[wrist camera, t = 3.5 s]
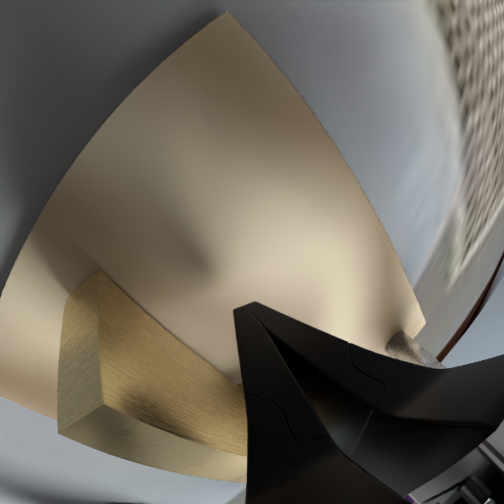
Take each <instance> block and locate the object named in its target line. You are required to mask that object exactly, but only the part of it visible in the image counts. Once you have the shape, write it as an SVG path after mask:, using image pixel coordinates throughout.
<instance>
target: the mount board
mask: <svg viewBox="0 0 504 504" xmlns="http://www.w3.org/2000/svg"><path fill="white" fill-rule="evenodd" d="M98 269H99V270H101V271H102V272H103V273H104V274H105V275H106V276H107V277H108V278H109V279H110V280H111V281H112V282H113V283H114V284H115V285H116V286H117V287H118V288H119V289H120V290H121V291H122V292H123V293H124V294H126V295H127V296H128V297H129V298H130V299H131V300H132V301H133V302H134V303H135V304H136V305H138V306H139V307H140V308H141V309H142V310H143V311H144V312H145V313H147V314H148V315H149V316H150V317H151V318H152V319H153V320H155V321H156V322H157V323H158V324H159V325H161V326H162V327H163V328H164V329H165V330H166V331H168V332H169V333H170V334H171V335H173V336H174V337H175V338H176V339H177V340H179V341H180V342H181V343H182V344H184V345H185V346H186V347H187V348H189V349H190V350H191V351H193V352H194V353H195V354H196V355H198V356H199V357H200V358H202V359H203V360H204V361H206V362H207V363H208V364H210V365H211V366H212V367H214V368H215V369H216V370H218V371H219V372H220V373H222V374H223V375H225V376H226V377H227V378H229V379H230V380H232V381H233V382H234V383H236V385H237V384H240V383H242V379H241V372H240V364H239V357H238V350H237V342H236V334H235V327H234V319H233V309H235V308H237V307H240V306H243V305H245V304H248V303H251V302H253V301H257V302H259V303H261V304H263V305H266V306H268V307H270V308H272V309H274V310H277V311H279V312H281V313H283V314H285V315H288V316H290V317H292V318H294V319H297V320H299V321H301V322H303V323H306V324H308V325H310V326H313V327H315V328H317V329H319V330H322V331H324V332H326V333H329V334H331V335H334V336H336V337H338V338H341V339H343V340H345V341H348V342H349V343H353V344H355V345H358V346H360V347H363V348H365V349H368V350H371V351H373V352H376V353H379V354H382V355H386V356H389V355H388V354H387V353H386V352H385V348H386V346H387V344H388V343H389V341H390V340H391V339H392V337H393V336H394V335H395V334H397V333H398V332H400V331H404V332H405V333H406V334H408V335H409V336H410V337H411V338H412V339H413V338H414V337H415V336H416V335H417V334H418V332H419V331H420V330H421V329H422V327H423V326H424V325H425V324H426V322H425V319H424V317H423V314H422V311H421V309H420V306H419V304H418V301H417V299H416V297H415V294H414V292H413V289H412V287H411V285H410V283H409V280H408V278H407V276H406V274H405V271H404V269H403V267H402V265H401V263H400V260H399V258H398V256H397V254H396V252H395V250H394V248H393V246H392V244H391V242H390V240H389V238H388V236H387V234H386V232H385V230H384V228H383V226H382V224H381V222H380V220H379V218H378V217H377V215H376V213H375V211H374V209H373V207H372V206H371V204H370V202H369V200H368V198H367V197H366V195H365V193H364V191H363V190H362V188H361V186H360V184H359V183H358V181H357V179H356V178H355V176H354V174H353V173H352V171H351V169H350V168H349V166H348V165H347V163H346V161H345V160H344V158H343V157H342V155H341V153H340V152H339V150H338V149H337V147H336V146H335V144H334V143H333V141H332V140H331V138H330V137H329V135H328V134H327V132H326V131H325V129H324V128H323V126H322V125H321V123H320V122H319V121H318V119H317V118H316V116H315V115H314V113H313V112H312V111H311V109H310V108H309V107H308V105H307V104H306V102H305V101H304V100H303V98H302V97H301V96H300V94H299V93H298V92H297V90H296V89H295V88H294V87H293V85H292V84H291V83H290V81H289V80H288V79H287V78H286V76H285V75H284V74H283V73H282V71H281V70H280V69H279V68H278V66H277V65H276V64H275V63H274V62H273V60H272V59H271V58H270V57H269V56H268V54H267V53H266V52H265V51H264V50H263V49H262V48H261V46H260V45H259V44H258V43H257V42H256V41H255V40H254V39H253V37H252V36H251V35H250V34H249V33H248V32H247V31H246V30H245V29H244V28H243V27H242V26H241V24H240V23H239V22H238V21H237V20H236V19H235V18H234V17H233V16H232V15H231V14H230V13H229V12H228V11H226V12H224V13H223V14H222V15H220V16H219V17H217V18H216V19H215V20H213V21H212V22H211V23H209V24H208V25H207V26H205V27H204V28H203V29H201V30H200V31H199V32H197V33H196V34H195V35H194V36H192V37H191V38H190V39H189V40H187V41H186V42H185V43H184V44H183V45H181V46H180V47H179V48H178V49H177V50H176V51H174V52H173V53H172V54H171V55H170V56H169V57H168V58H166V59H165V60H164V61H163V62H162V63H161V64H160V65H159V66H158V67H157V68H156V69H154V70H153V71H152V72H151V73H150V74H149V75H148V76H147V77H146V78H145V79H144V80H143V81H142V82H141V83H140V84H139V85H138V86H137V87H136V88H135V89H134V90H133V91H132V92H131V93H130V94H129V95H128V97H127V98H126V99H125V100H124V101H123V102H122V103H121V104H120V105H119V106H118V107H117V109H116V110H115V111H114V112H113V113H112V114H111V115H110V117H109V118H108V119H107V120H106V121H105V122H104V124H103V125H102V126H101V127H100V128H99V130H98V131H97V132H96V133H95V135H94V136H93V137H92V138H91V140H90V141H89V142H88V144H87V145H86V146H85V147H84V149H83V150H82V151H81V153H80V154H79V155H78V157H77V158H76V160H75V161H74V162H73V164H72V165H71V167H70V168H69V169H68V171H67V172H66V174H65V175H64V177H63V178H62V180H61V181H60V183H59V184H58V186H57V187H56V189H55V190H54V192H53V194H52V195H51V197H50V198H49V200H48V202H47V203H46V205H45V207H44V208H43V210H42V212H41V214H40V215H39V217H38V219H37V221H36V222H35V224H34V226H33V228H32V230H31V232H30V233H29V235H28V237H27V239H26V241H25V243H24V245H23V247H22V249H21V251H20V253H19V255H18V257H17V259H16V262H15V264H14V266H13V268H12V270H11V273H10V275H9V277H8V280H7V282H6V285H5V287H4V289H3V292H2V295H1V297H0V396H2V397H4V398H6V399H8V400H10V401H12V402H15V403H17V404H19V405H21V406H23V407H26V408H28V409H30V410H33V411H35V412H38V413H40V414H43V415H45V416H48V417H51V418H53V419H56V420H57V384H58V363H59V350H60V339H61V330H62V322H63V314H64V307H65V301H66V298H67V297H68V296H70V295H71V294H72V293H73V292H74V291H75V290H76V289H77V288H78V287H79V286H80V285H81V284H82V283H84V282H85V281H86V280H87V279H88V278H89V277H90V276H91V275H92V274H94V273H95V272H96V271H97V270H98ZM389 357H390V356H389Z"/></svg>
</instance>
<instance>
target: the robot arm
mask: <svg viewBox="0 0 504 504" xmlns="http://www.w3.org/2000/svg"><path fill="white" fill-rule="evenodd" d="M233 319H234V327H235V334H236V342H237V350H238V357H239V364H240V372H241V379H242V386H243V393H244V401H245V408H246V418H247V481H246V497H245V504H413V503H411V502H410V501H408V500H407V499H405V498H404V496H406V495H408V494H409V493H411V494H412V495H413V497H414V498H415V499H416V500H417V501H418V502H419V503H420V504H484V503H485V502H486V501H487V499H488V498H490V499H491V500H490V501H489V502H488V503H487V504H504V354H503V355H500V356H497V357H493V358H490V359H486V360H482V361H478V362H474V363H470V364H467V365H462V366H458V367H453V368H446V369H438V368H431V367H426V366H422V365H418V364H414V363H411V362H407V361H403V360H399V359H396V358H392V357H389V356H386V355H382V354H379V353H376V352H373V351H371V350H368V349H365V348H363V347H360V346H358V345H355V344H353V343H349V342H348V341H345V340H343V339H341V338H338V337H336V336H334V335H331V334H329V333H326V332H324V331H322V330H319V329H317V328H315V327H313V326H310V325H308V324H306V323H303V322H301V321H299V320H297V319H294V318H292V317H290V316H288V315H285V314H283V313H281V312H279V311H277V310H274V309H272V308H270V307H268V306H266V305H263V304H261V303H259V302H257V301H253V302H251V303H248V304H245V305H243V306H240V307H237V308H235V309H233Z"/></svg>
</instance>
